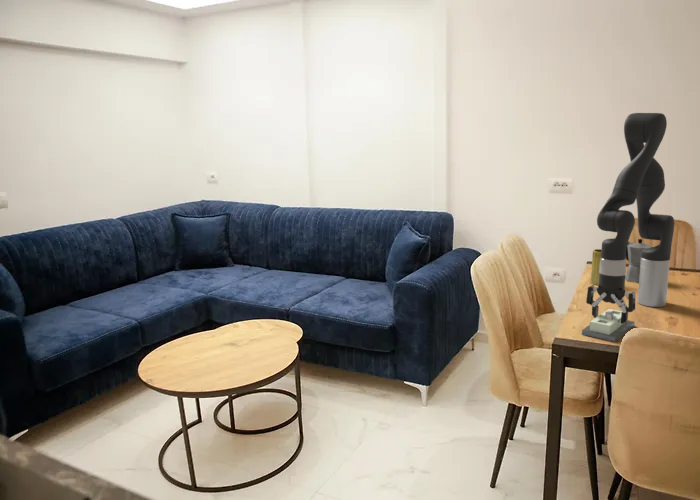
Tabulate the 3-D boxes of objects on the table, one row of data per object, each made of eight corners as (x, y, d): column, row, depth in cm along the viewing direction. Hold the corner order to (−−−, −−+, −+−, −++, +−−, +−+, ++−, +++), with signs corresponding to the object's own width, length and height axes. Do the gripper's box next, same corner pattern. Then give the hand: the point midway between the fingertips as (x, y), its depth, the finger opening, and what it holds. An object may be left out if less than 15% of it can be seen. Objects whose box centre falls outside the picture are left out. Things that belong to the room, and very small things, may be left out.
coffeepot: (658, 283, 221) (662, 240, 217) (639, 285, 219) (642, 242, 215) (631, 274, 236) (634, 234, 232) (613, 276, 234) (615, 236, 230)
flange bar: (608, 317, 180) (609, 308, 179) (627, 321, 176) (627, 312, 175) (589, 330, 169) (590, 321, 168) (609, 334, 165) (609, 325, 164)
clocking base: (603, 319, 182) (604, 302, 181) (634, 325, 175) (635, 308, 174) (581, 334, 170) (582, 316, 169) (614, 342, 163) (615, 323, 162)
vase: (607, 285, 221) (609, 252, 218) (591, 285, 222) (593, 252, 219) (603, 281, 226) (605, 249, 223) (588, 281, 228) (590, 248, 225)
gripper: (584, 270, 171) (582, 318, 174) (632, 278, 161) (628, 328, 164) (594, 266, 176) (591, 312, 179) (640, 272, 166) (636, 321, 170)
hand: (609, 320), depth 172 cm, fingers open, 8 cm apart
